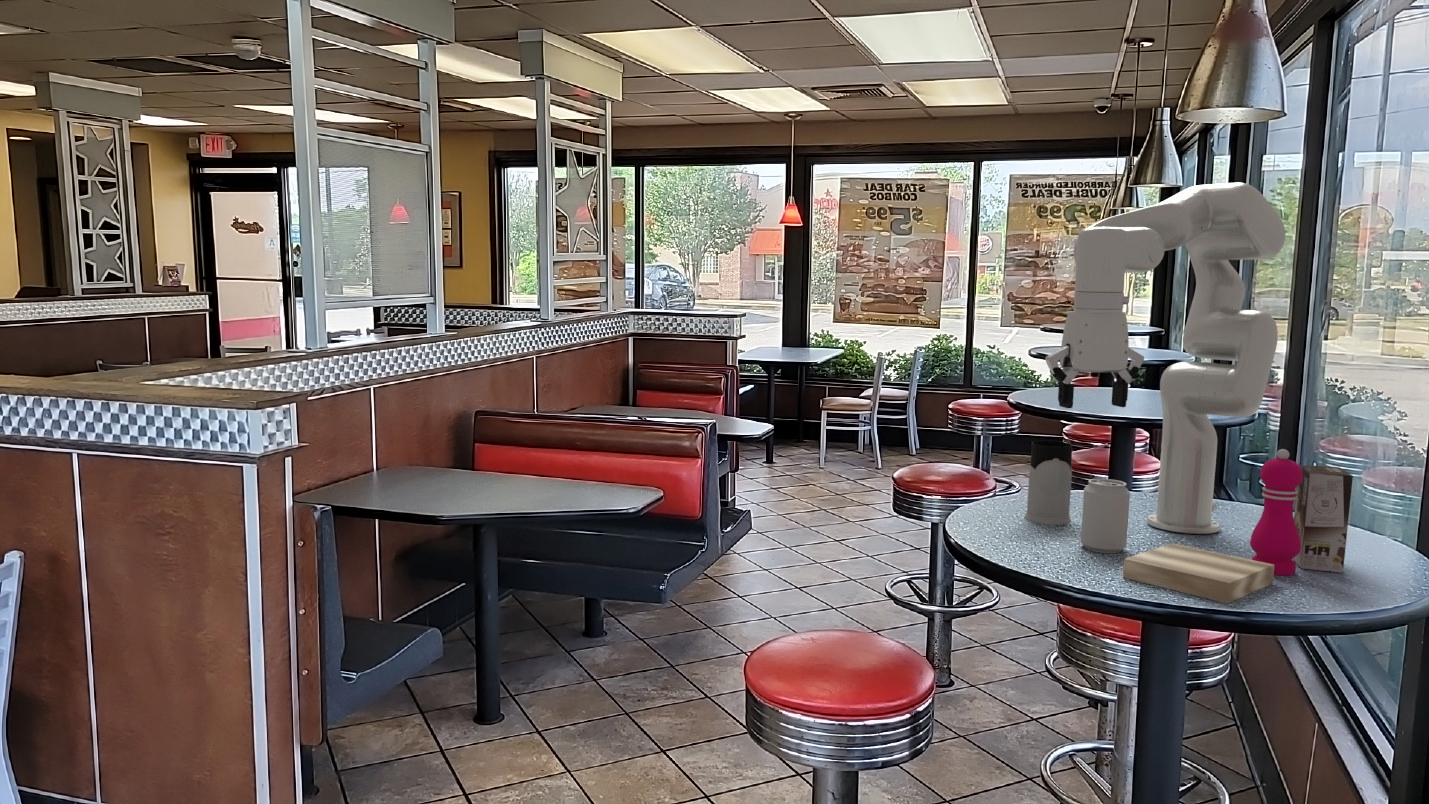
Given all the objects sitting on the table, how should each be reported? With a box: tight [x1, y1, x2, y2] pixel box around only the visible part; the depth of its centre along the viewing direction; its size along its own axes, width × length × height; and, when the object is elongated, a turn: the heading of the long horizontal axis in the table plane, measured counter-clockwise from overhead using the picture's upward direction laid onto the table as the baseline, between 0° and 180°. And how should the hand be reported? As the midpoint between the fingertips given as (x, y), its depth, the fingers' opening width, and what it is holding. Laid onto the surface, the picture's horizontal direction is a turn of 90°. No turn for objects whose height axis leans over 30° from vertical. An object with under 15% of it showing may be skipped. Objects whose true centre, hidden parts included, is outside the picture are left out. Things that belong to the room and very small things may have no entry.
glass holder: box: [1024, 440, 1073, 526], centre depth 199 cm, size 9×14×15 cm, turn 174°
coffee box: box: [1292, 464, 1354, 574], centre depth 167 cm, size 9×6×16 cm
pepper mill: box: [1249, 448, 1303, 577], centre depth 163 cm, size 7×7×20 cm
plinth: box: [1122, 542, 1275, 604], centre depth 157 cm, size 16×16×3 cm
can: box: [1080, 478, 1131, 554], centre depth 175 cm, size 8×8×12 cm
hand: (1092, 406), depth 167 cm, fingers open, 9 cm apart
